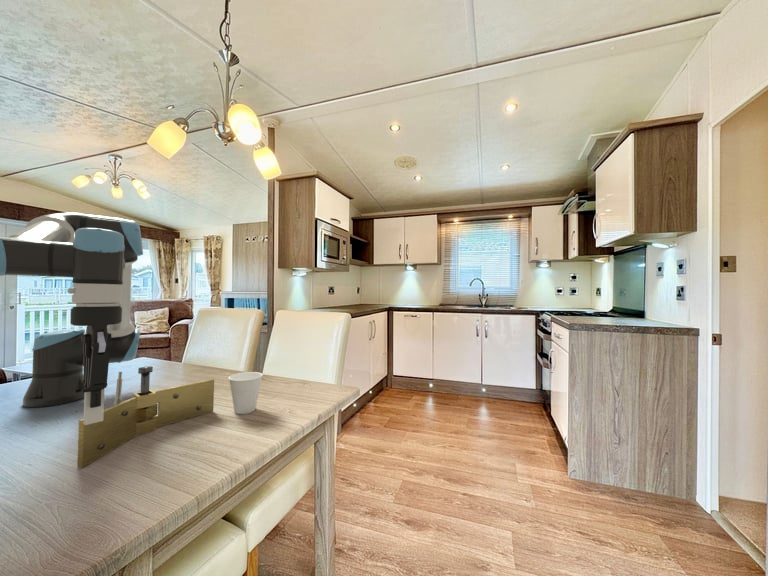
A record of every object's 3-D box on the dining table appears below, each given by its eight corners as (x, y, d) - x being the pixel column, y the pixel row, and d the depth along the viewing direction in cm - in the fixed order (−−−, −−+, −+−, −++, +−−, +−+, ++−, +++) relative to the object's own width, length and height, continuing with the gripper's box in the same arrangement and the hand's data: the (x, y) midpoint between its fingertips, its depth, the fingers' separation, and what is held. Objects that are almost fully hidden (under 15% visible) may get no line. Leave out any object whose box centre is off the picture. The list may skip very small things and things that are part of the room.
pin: (135, 408, 79) (137, 367, 79) (149, 405, 82) (150, 365, 82) (138, 411, 77) (140, 369, 78) (152, 408, 80) (154, 367, 80)
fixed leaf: (132, 431, 79) (133, 393, 79) (209, 409, 94) (210, 378, 94) (136, 435, 77) (137, 396, 77) (215, 413, 92) (216, 380, 92)
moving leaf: (69, 467, 62) (71, 420, 62) (141, 426, 81) (143, 390, 82) (89, 467, 62) (91, 420, 62) (156, 426, 81) (157, 390, 82)
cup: (222, 410, 94) (223, 375, 94) (254, 402, 101) (254, 370, 101) (234, 420, 87) (235, 382, 87) (267, 410, 94) (268, 376, 94)
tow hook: (132, 405, 98) (101, 415, 89) (135, 365, 99) (105, 371, 89) (154, 407, 96) (125, 418, 87) (157, 367, 97) (129, 373, 88)
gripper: (67, 304, 62) (62, 419, 61) (75, 306, 54) (70, 438, 53) (115, 304, 68) (111, 408, 67) (129, 305, 60) (125, 424, 59)
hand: (93, 421), depth 60 cm, fingers closed
